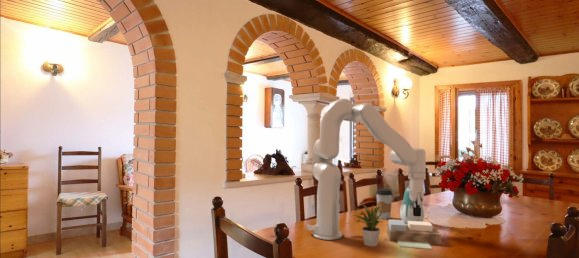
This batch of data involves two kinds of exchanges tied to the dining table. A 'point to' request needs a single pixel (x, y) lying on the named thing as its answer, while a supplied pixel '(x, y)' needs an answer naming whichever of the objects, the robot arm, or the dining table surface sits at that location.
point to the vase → (409, 209)
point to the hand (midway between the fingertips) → (417, 215)
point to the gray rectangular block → (397, 225)
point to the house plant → (370, 226)
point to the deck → (415, 235)
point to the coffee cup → (384, 202)
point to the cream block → (419, 226)
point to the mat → (414, 244)
